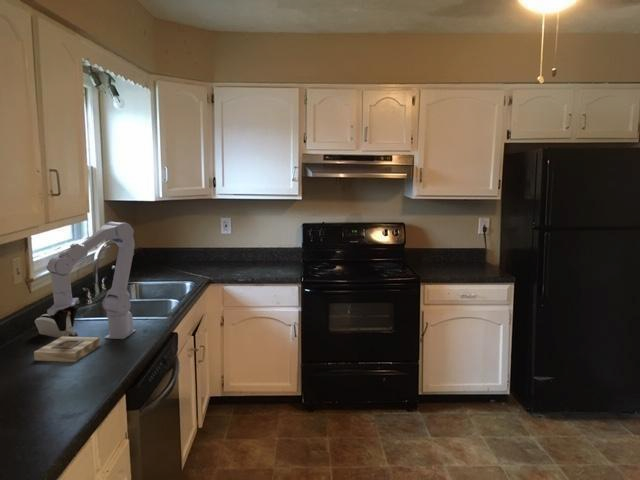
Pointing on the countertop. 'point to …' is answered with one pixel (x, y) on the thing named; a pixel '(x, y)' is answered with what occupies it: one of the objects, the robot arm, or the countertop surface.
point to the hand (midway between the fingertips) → (66, 328)
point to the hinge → (50, 327)
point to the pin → (68, 324)
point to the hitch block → (67, 349)
